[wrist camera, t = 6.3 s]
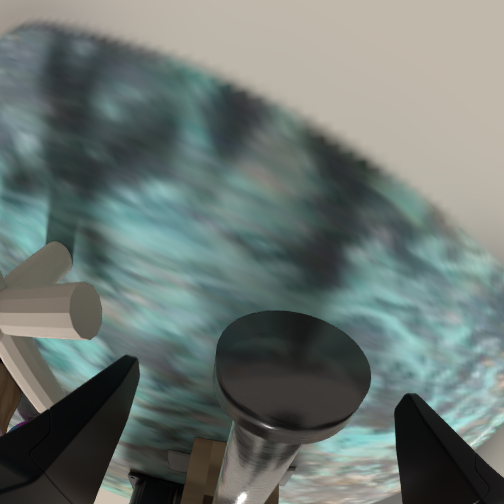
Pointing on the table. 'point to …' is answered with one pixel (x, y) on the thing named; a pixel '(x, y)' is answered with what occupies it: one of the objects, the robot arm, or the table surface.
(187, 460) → the mat
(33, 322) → the pipe connector
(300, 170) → the table surface
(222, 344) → the shaft
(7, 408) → the cupcake
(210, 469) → the pillow blocks
